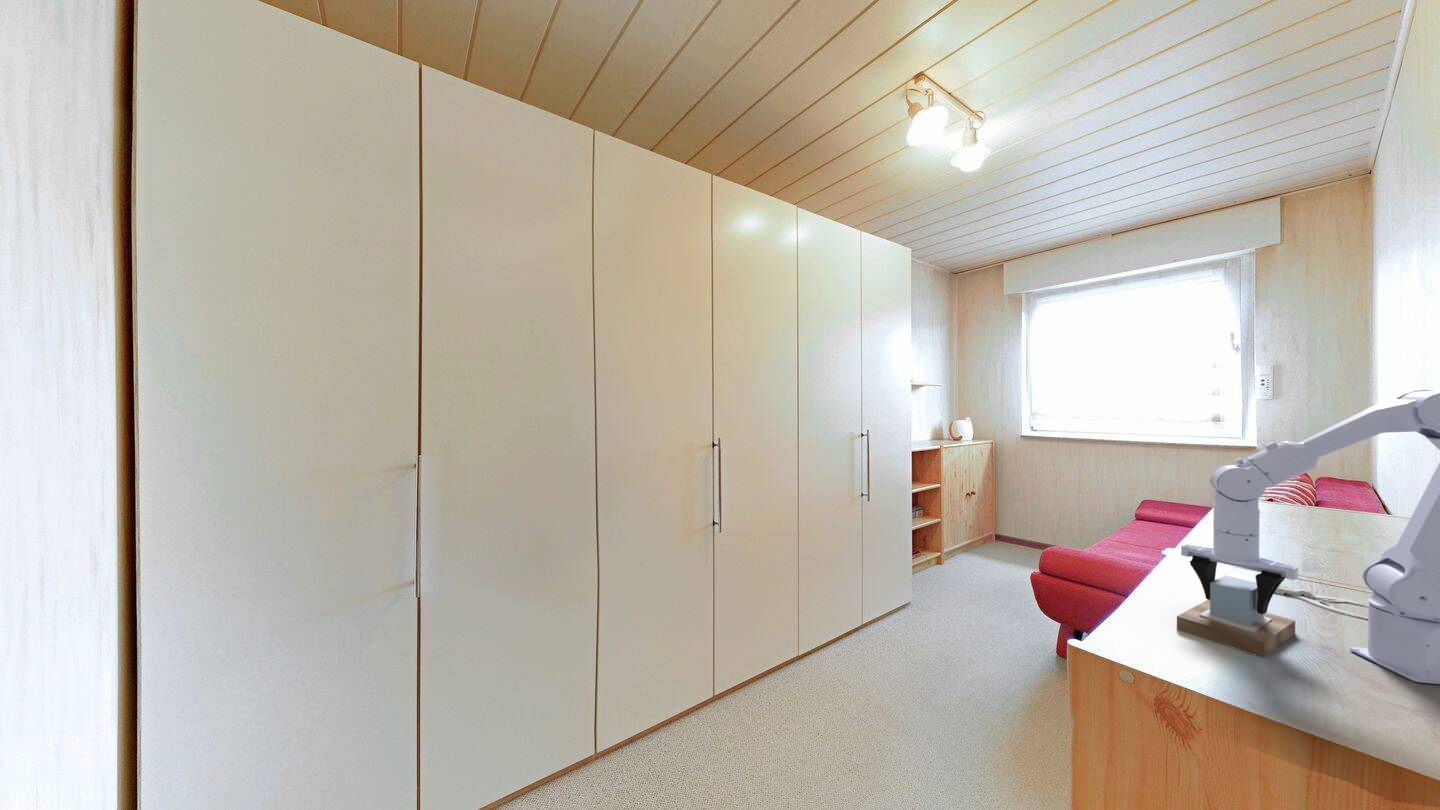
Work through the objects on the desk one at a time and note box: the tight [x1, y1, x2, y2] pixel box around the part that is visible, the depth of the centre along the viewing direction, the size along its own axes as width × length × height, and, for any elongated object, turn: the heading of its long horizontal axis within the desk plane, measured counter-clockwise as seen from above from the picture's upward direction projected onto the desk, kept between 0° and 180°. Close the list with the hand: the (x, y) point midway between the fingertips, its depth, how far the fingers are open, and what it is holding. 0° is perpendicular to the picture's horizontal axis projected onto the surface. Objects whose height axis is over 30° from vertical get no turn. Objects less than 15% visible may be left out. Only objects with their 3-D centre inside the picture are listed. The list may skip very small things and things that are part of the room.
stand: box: [1176, 599, 1296, 658], centre depth 88 cm, size 16×11×3 cm
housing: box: [1210, 574, 1263, 626], centre depth 88 cm, size 8×5×6 cm, turn 118°
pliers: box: [1274, 584, 1368, 618], centre depth 100 cm, size 10×2×15 cm
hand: (1235, 605), depth 88 cm, fingers open, 6 cm apart
